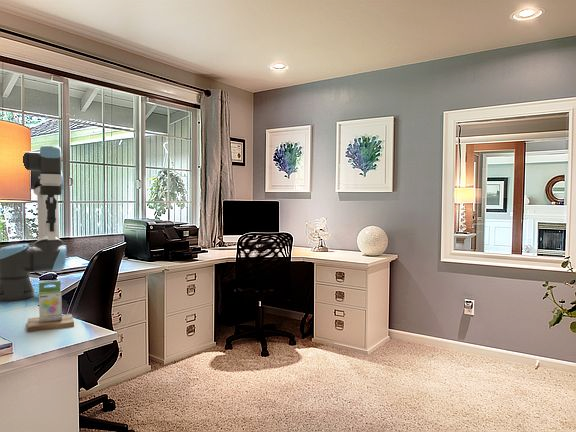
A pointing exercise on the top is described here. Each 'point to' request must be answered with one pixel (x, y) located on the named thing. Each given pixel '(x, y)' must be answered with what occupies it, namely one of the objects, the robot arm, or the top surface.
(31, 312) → the top surface
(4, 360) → the top surface
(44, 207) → the robot arm
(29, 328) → the board
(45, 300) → the ink box
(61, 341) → the top surface
